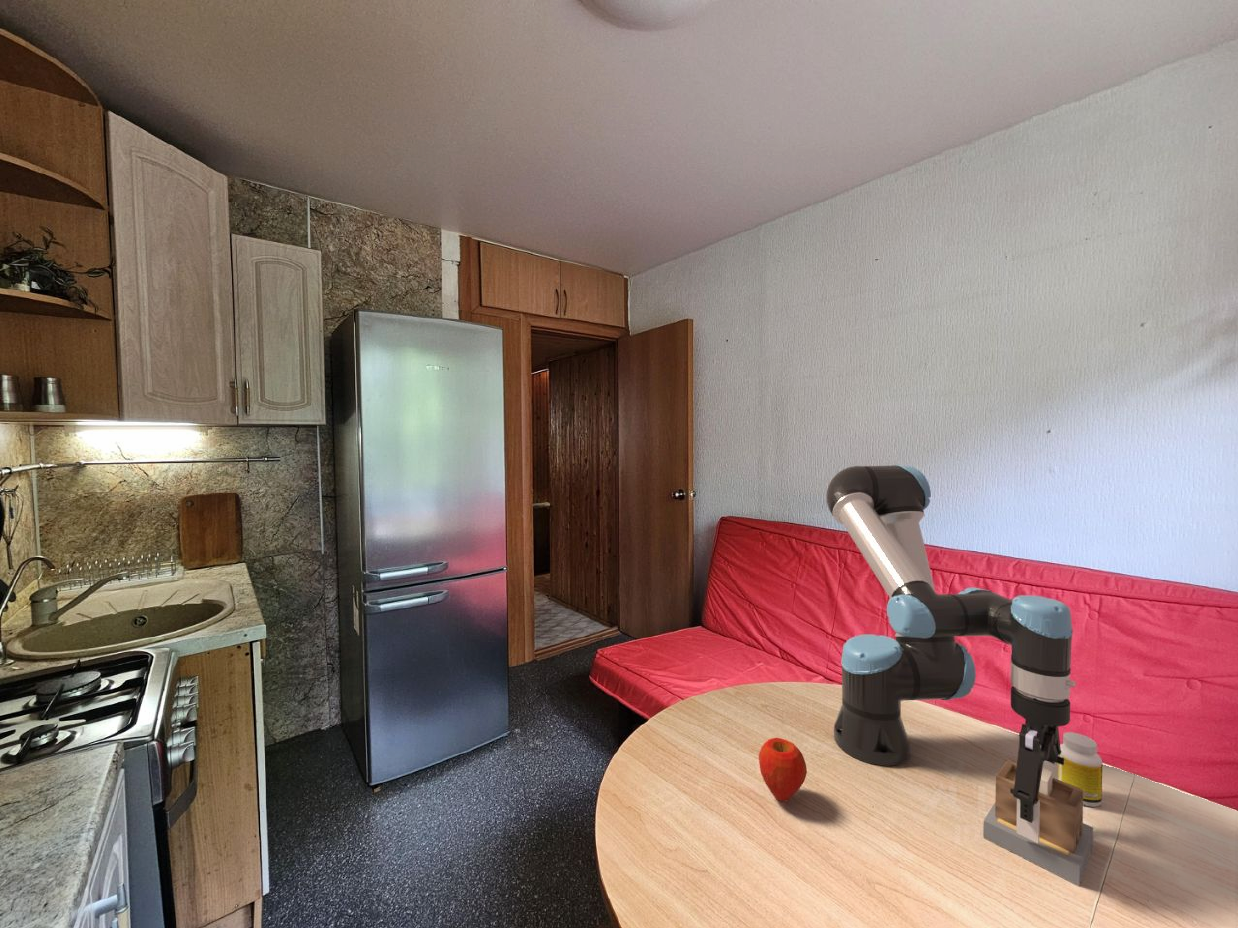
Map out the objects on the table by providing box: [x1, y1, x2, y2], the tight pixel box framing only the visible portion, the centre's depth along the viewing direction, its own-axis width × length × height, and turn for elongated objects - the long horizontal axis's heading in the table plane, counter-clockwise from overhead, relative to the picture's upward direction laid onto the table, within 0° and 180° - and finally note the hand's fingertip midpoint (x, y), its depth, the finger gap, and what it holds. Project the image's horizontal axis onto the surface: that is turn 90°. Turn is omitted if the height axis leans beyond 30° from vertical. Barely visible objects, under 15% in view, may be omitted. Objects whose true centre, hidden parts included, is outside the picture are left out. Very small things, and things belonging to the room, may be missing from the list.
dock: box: [982, 802, 1094, 887], centre depth 82 cm, size 12×12×3 cm
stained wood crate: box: [994, 759, 1084, 854], centre depth 82 cm, size 10×7×7 cm
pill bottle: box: [1056, 731, 1103, 807], centre depth 92 cm, size 6×6×11 cm
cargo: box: [1039, 768, 1053, 796], centre depth 82 cm, size 4×4×3 cm
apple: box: [758, 737, 808, 802], centre depth 93 cm, size 9×8×11 cm
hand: (1037, 816), depth 82 cm, fingers open, 13 cm apart
